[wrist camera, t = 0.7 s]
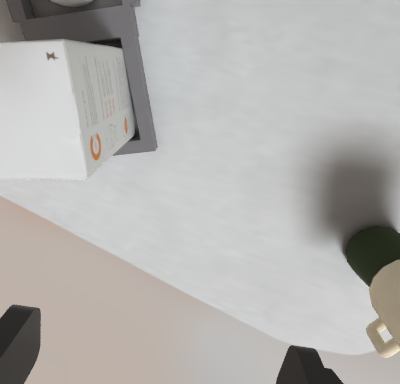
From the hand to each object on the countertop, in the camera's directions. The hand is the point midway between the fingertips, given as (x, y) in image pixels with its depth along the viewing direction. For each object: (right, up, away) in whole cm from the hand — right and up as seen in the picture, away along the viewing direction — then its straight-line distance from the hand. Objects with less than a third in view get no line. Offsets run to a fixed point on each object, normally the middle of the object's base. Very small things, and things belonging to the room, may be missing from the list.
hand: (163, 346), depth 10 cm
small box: (-8, +14, +20) cm, 26 cm away
